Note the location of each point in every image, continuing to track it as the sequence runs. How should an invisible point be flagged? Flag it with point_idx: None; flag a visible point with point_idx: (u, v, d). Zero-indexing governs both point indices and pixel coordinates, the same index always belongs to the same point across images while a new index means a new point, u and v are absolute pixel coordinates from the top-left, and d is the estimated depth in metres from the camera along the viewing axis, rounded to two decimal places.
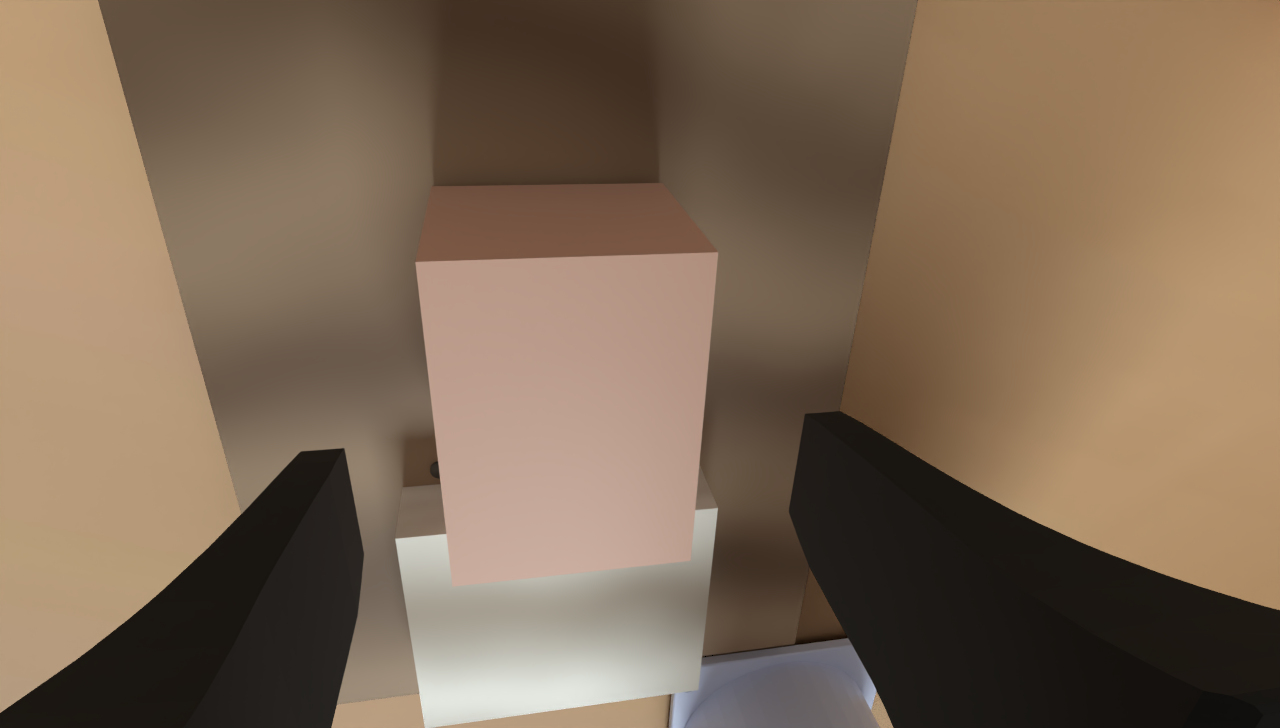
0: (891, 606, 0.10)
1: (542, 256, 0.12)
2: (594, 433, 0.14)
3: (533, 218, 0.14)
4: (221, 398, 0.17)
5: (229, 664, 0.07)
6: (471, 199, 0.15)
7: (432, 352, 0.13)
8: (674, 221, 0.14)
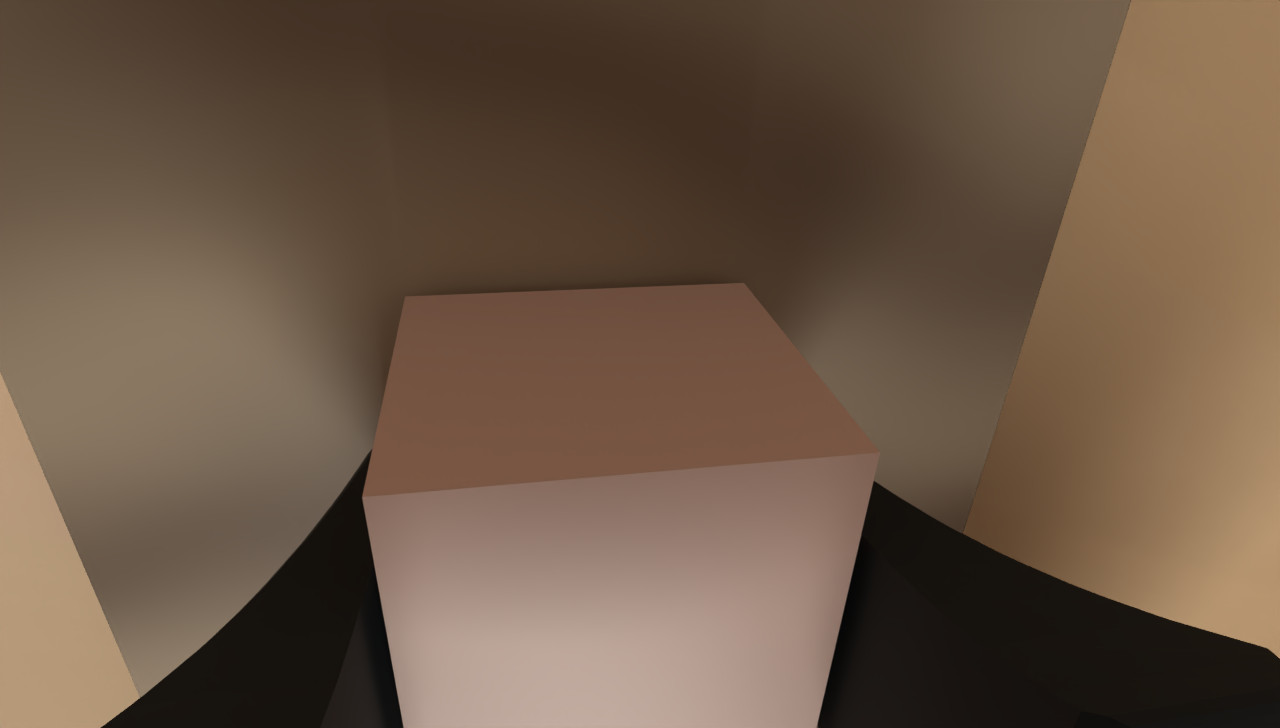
0: None
1: (585, 473, 0.07)
2: (660, 709, 0.09)
3: (563, 369, 0.09)
4: (109, 583, 0.12)
5: (351, 651, 0.07)
6: (464, 325, 0.10)
7: (396, 626, 0.07)
8: (784, 371, 0.09)
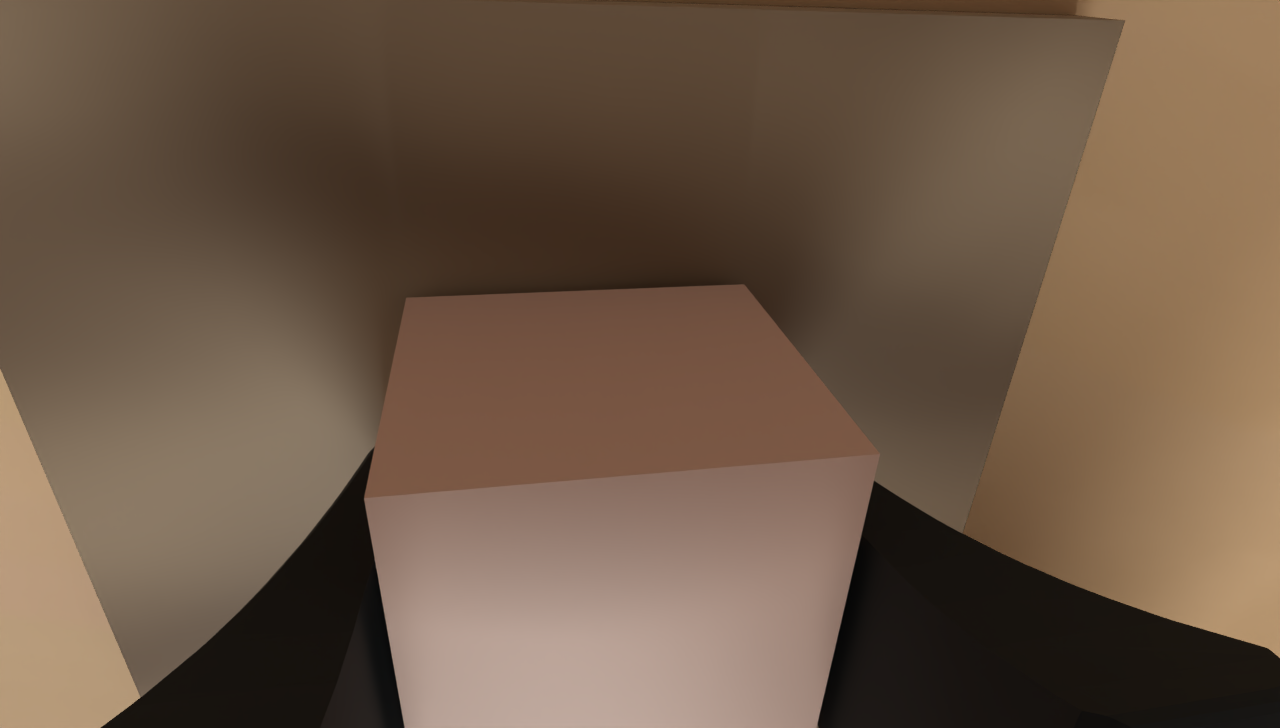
0: None
1: (586, 474, 0.07)
2: (661, 709, 0.09)
3: (564, 370, 0.09)
4: (148, 674, 0.13)
5: (351, 649, 0.07)
6: (465, 326, 0.10)
7: (398, 627, 0.07)
8: (785, 373, 0.09)
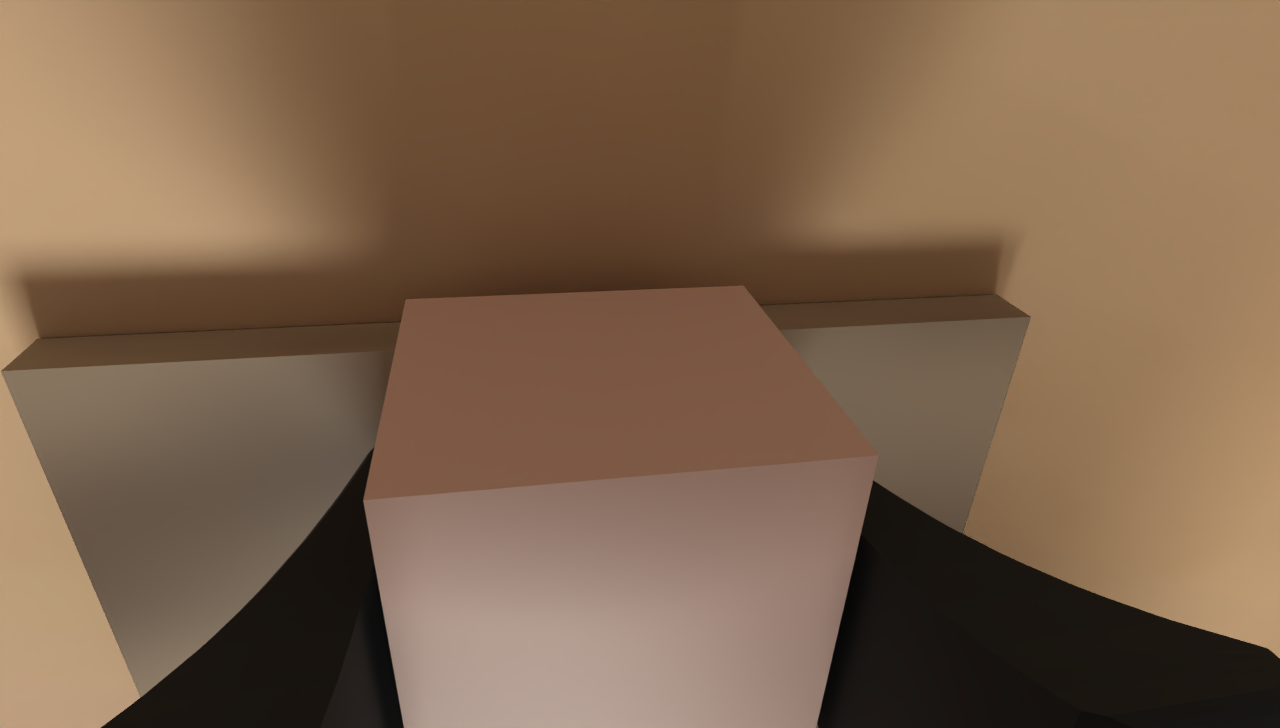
0: None
1: (585, 476, 0.07)
2: (660, 710, 0.09)
3: (563, 371, 0.09)
4: None
5: (351, 651, 0.07)
6: (465, 328, 0.10)
7: (397, 628, 0.07)
8: (784, 374, 0.09)
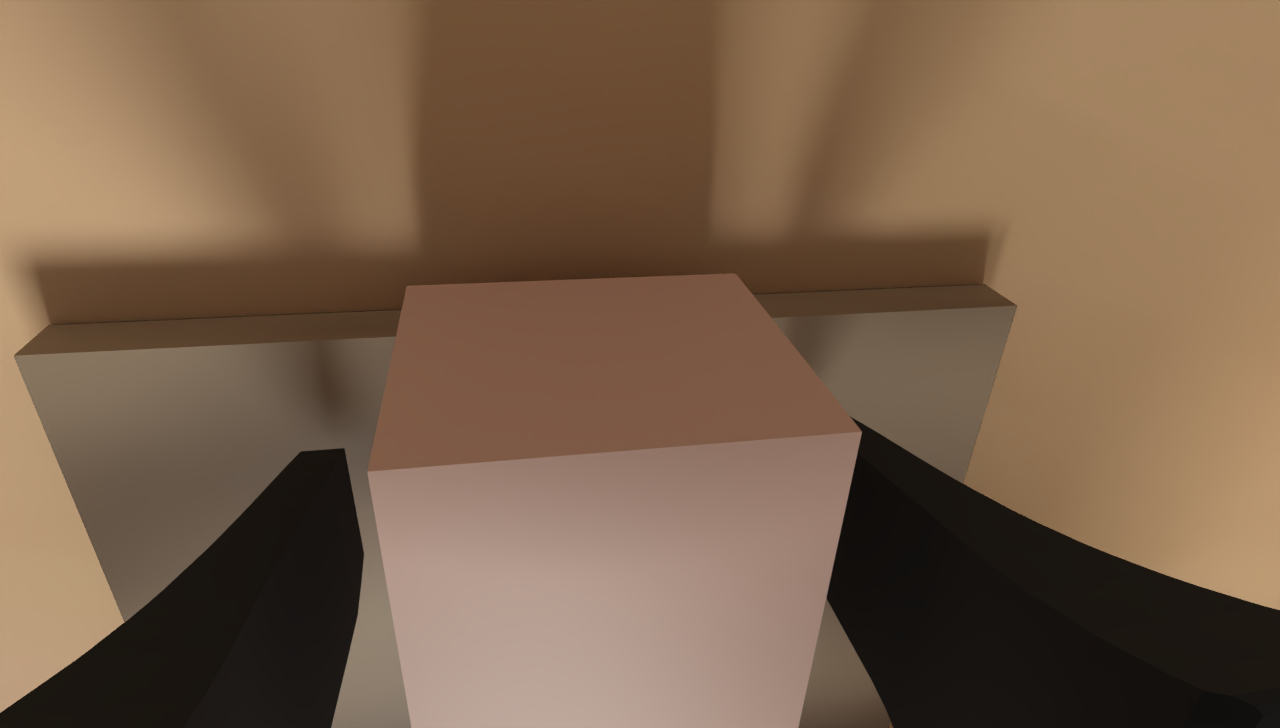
0: (891, 606, 0.10)
1: (580, 450, 0.07)
2: (653, 681, 0.09)
3: (559, 354, 0.09)
4: None
5: (230, 664, 0.07)
6: (464, 313, 0.10)
7: (400, 597, 0.08)
8: (773, 356, 0.09)
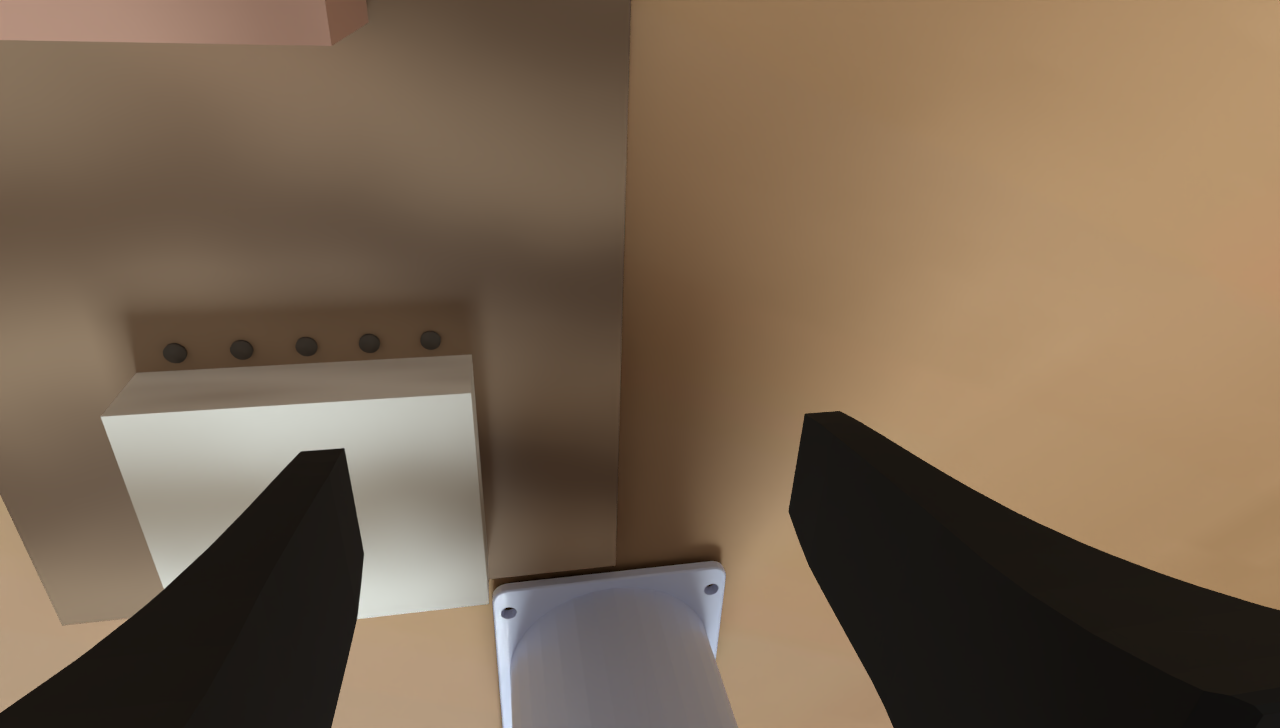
0: (891, 606, 0.10)
1: None
2: None
3: None
4: None
5: (230, 664, 0.07)
6: None
7: None
8: None
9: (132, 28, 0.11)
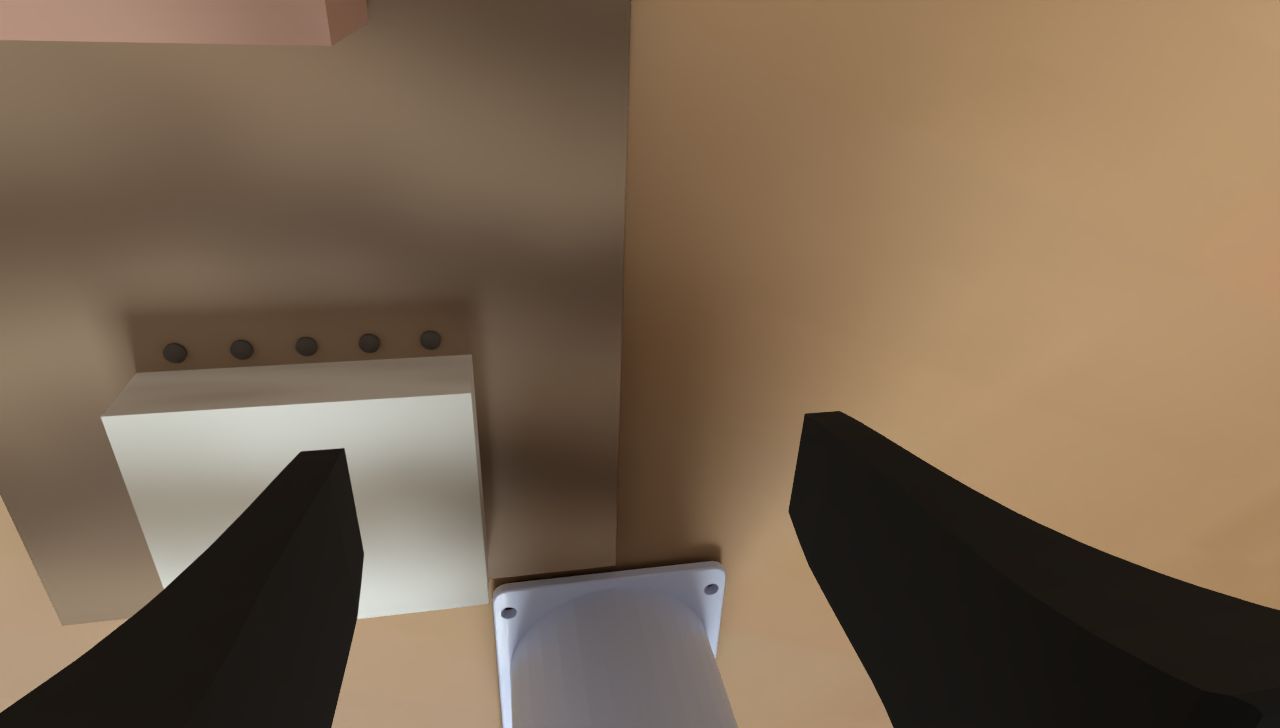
0: (891, 606, 0.10)
1: None
2: None
3: None
4: None
5: (230, 664, 0.07)
6: None
7: None
8: None
9: (132, 28, 0.11)
